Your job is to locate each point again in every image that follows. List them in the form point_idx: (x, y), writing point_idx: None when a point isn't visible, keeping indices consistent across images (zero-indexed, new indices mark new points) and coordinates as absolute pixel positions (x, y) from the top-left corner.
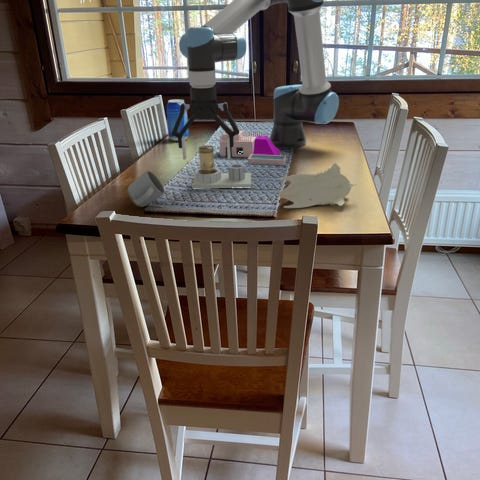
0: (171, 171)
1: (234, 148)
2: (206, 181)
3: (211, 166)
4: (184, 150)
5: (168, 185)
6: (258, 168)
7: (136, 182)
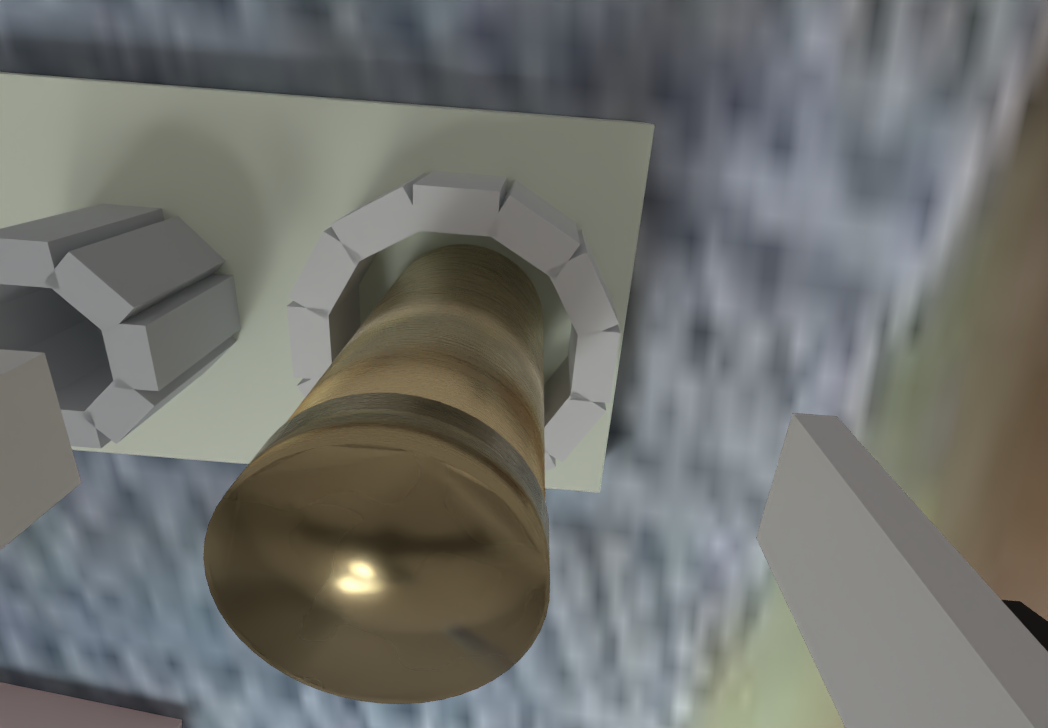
0: (805, 645)
1: None
2: (473, 175)
3: (371, 318)
4: (886, 520)
5: (890, 298)
6: (70, 616)
7: None
